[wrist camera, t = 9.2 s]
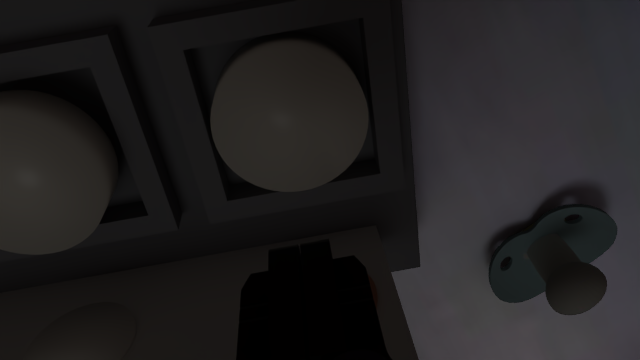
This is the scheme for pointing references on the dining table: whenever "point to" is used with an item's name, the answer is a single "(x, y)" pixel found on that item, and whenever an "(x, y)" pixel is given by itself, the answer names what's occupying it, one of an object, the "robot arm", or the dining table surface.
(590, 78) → the dining table surface
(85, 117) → the button middle
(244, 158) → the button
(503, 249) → the pacifier
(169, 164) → the button board
